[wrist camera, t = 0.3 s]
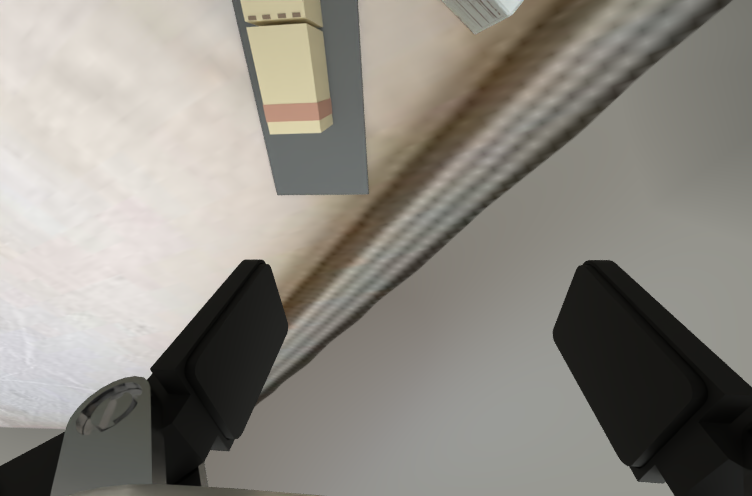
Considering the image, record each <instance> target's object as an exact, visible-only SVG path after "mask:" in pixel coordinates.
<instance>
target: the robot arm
mask: <svg viewBox="0 0 752 496" xmlns="http://www.w3.org/2000/svg"><path fill="white" fill-rule="evenodd" d="M287 331H288V322H287V319H286V316H285V312H284V309H283V306H282V302H281V299H280V296H279V292H278V289H277V286H276V283H275V279H274V276H273V273H272V269H271V267H270V265H269V264H266V263H265V262H264V260H243V261H242V262H241V263H240V264H239V265H238V267H237V268H236V269H235V270H234V271H233V272H232V274H231V275H230V276H229V277H228V278H227V279H226V281H225V282H224V283H223V284H222V285H221V286H220V288H219V289H218V290H217V291H216V292H215V293H214V295H213V296H212V297H211V298H210V299H209V300H208V302H207V303H206V304H205V305H204V306H203V307H202V309H201V310H200V311H199V312H198V313H197V314H196V316H195V317H194V318H193V319H192V320H191V321H190V323H189V324H188V325H187V326H186V327H185V328H184V330H183V331H182V332H181V333H180V334H179V336H178V337H177V338H176V339H175V340H174V341H173V343H172V344H171V345H170V346H169V347H168V348H167V350H166V351H165V352H164V353H163V354H162V355H161V357H160V358H159V359H158V360H157V361H156V362H155V364H154V365H153V366H152V367H151V368H150V370H151V371H152V375H151V376H150V377H149V378H148V379H147V380H146V379H145V378H143V377H137V376H133V377H127V378H123V379H120V380H117V381H115V382H112V383H110V384H108V385H107V386H105V387H103V388H101V389H100V390H98V391H97V392H95V393H94V394H93V395H91V396H90V397H89V398H88V399H86V400H85V401H84V402H83V403H82V404H81V405H80V406H79V407H78V408H77V410H76V411H75V412H74V414H73V415H72V416H71V418H70V420H69V422H68V424H67V427H66V430H65V432H63V433H61V434H60V435H58V436H56V437H54V438H52V439H50V440H48V441H46V442H45V443H43V444H41V445H39V446H38V447H35V448H33V449H31V450H30V451H28V452H26V453H24V454H22V455H20V456H18V457H16V458H14V459H13V460H11V461H9V462H7V463H5V464H3V465H1V466H0V496H320V495H307V494H296V493H283V492H271V491H259V490H247V489H234V488H217V487H208V481H207V475H206V468H205V462H204V461H205V459H206V457H207V455H208V453H209V451H210V450H218V451H229V450H230V448H231V446H232V444H233V442H234V440H235V439H238V438H239V437H240V436H241V434H242V433H243V431H244V428H245V426H246V424H247V422H248V420H249V417H250V415H251V413H252V410H253V408H254V406H255V404H256V402H257V399H258V397H259V395H260V393H261V391H262V388H263V386H264V384H265V382H266V379H267V377H268V375H269V373H270V370H271V368H272V366H273V364H274V362H275V359H276V357H277V355H278V353H279V350H280V348H281V346H282V344H283V341H284V339H285V337H286V335H287ZM553 339H554V342H555V344H556V345H557V347H558V349H559V351H560V352H561V354H562V356H563V358H564V360H565V361H566V363H567V365H568V367H569V369H570V371H571V372H572V374H573V376H574V378H575V380H576V381H577V383H578V385H579V387H580V389H581V390H582V392H583V394H584V396H585V398H586V399H587V401H588V403H589V405H590V407H591V408H592V410H593V412H594V414H595V416H596V417H597V419H598V421H599V423H600V425H601V426H602V428H603V430H604V432H605V434H606V436H607V437H608V439H609V441H610V443H611V445H612V446H613V448H614V450H615V452H616V454H617V455H618V457H619V459H620V460H621V461H622V462H623V463H624V464H625V465H627V466H629V467H630V468H631V470H632V472H633V474H634V476H635V477H636V479H637V481H638V482H651V483H664V482H666V483H667V484H668V486H669V487H670V489H671V491H672V492H673V494H674V496H752V387H751V386H750V385H749V384H748V383H746V382H745V381H744V380H743V379H742V378H741V377H740V376H739V375H738V374H737V373H736V372H734V371H733V370H732V369H731V368H730V367H729V366H728V365H727V364H725V362H723V361H722V360H721V359H720V358H719V357H718V356H717V355H716V354H715V353H713V352H712V351H711V350H710V349H709V348H708V347H707V346H706V345H705V344H704V343H702V342H701V341H700V340H699V339H698V338H697V337H696V336H695V335H694V334H692V333H691V332H690V331H689V330H688V329H687V328H686V327H685V326H684V325H683V324H682V323H681V322H679V321H678V320H677V319H676V318H675V317H674V316H673V315H672V314H671V313H669V311H667V310H666V309H665V308H664V307H663V306H662V305H661V304H660V303H659V302H658V301H656V300H655V299H654V298H653V297H652V296H651V295H650V294H649V293H648V292H647V291H645V290H644V289H643V288H642V287H641V286H640V285H639V284H638V283H636V282H635V281H634V280H633V279H632V278H631V277H630V276H629V275H628V274H627V273H626V272H625V271H623V270H622V269H621V268H620V267H619V266H618V265H617V264H616V263H614V262H613V261H610V260H588V261H586V262H584V264H583V265H581V266H578V268H577V269H576V272H575V274H574V277H573V280H572V282H571V285H570V287H569V290H568V292H567V295H566V298H565V301H564V303H563V305H562V308H561V311H560V313H559V316H558V318H557V321H556V324H555V326H554V329H553Z"/></svg>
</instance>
